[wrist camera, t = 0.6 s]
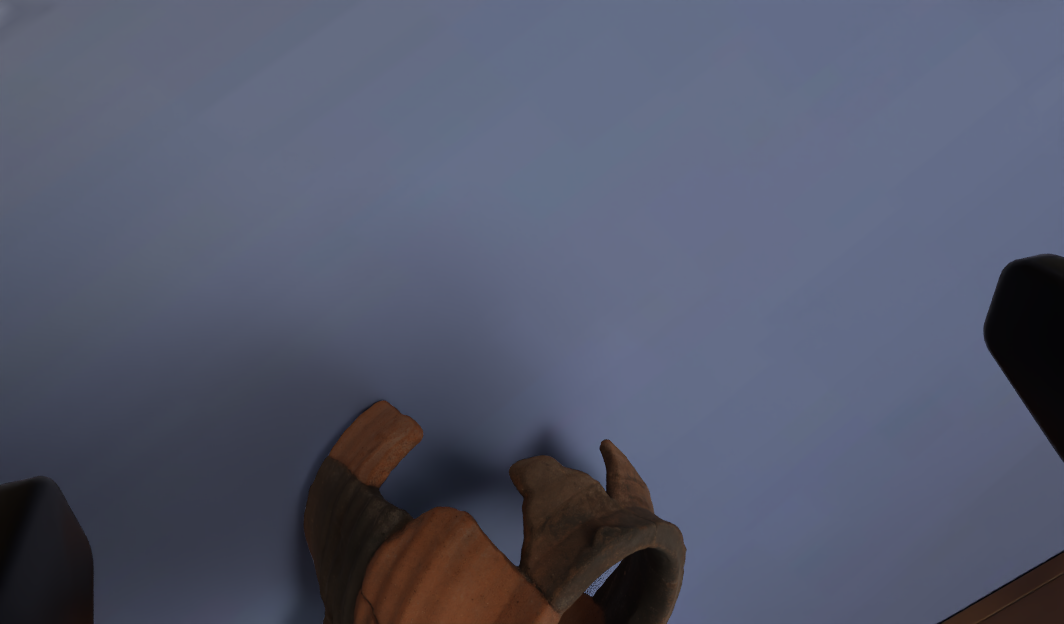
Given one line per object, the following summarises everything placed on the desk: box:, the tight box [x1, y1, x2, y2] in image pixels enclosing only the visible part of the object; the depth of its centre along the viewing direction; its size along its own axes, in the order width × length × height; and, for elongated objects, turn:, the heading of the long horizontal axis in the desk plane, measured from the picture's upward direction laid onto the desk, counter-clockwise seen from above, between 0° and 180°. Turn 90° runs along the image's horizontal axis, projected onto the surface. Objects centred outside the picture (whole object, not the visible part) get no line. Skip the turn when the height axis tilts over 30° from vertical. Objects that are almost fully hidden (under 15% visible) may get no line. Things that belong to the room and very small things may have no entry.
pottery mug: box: [304, 400, 686, 624], centre depth 24 cm, size 12×10×8 cm
